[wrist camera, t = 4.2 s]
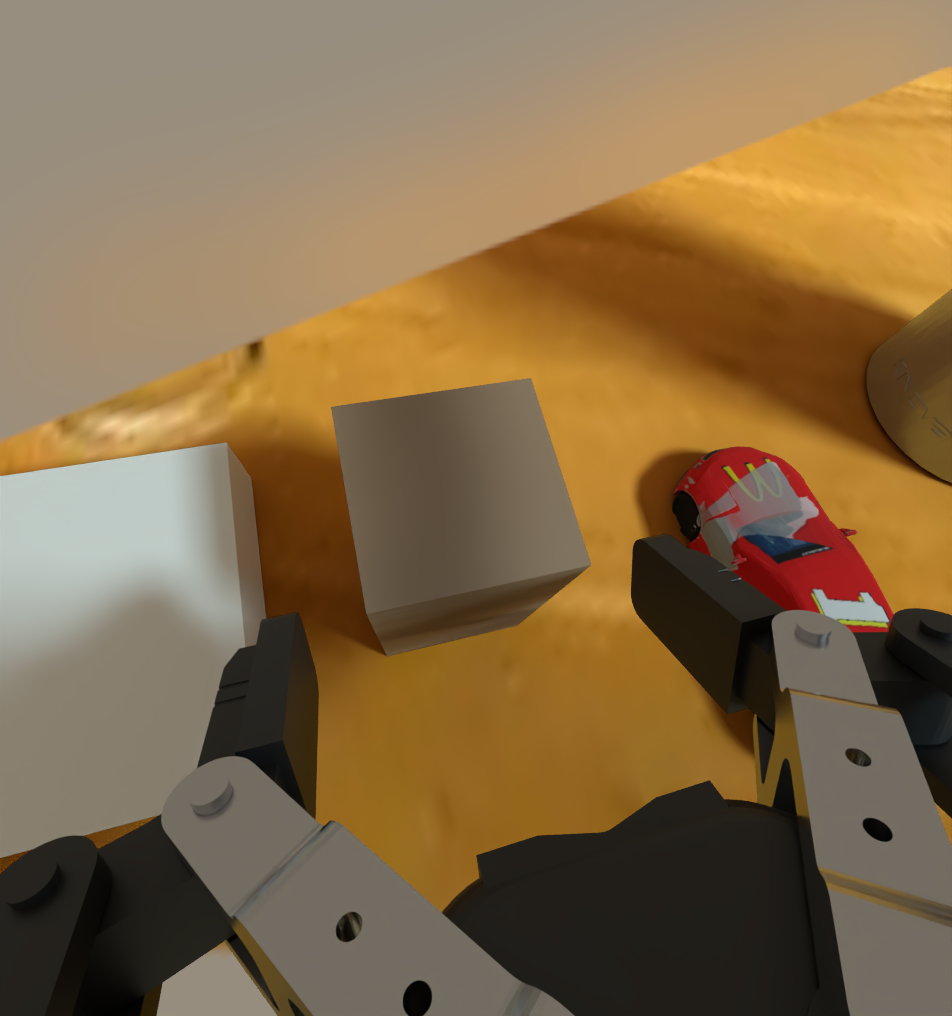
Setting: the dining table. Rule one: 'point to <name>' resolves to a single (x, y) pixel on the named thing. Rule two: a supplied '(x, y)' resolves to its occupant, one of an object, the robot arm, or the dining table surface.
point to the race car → (777, 537)
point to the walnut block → (455, 512)
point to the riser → (117, 632)
